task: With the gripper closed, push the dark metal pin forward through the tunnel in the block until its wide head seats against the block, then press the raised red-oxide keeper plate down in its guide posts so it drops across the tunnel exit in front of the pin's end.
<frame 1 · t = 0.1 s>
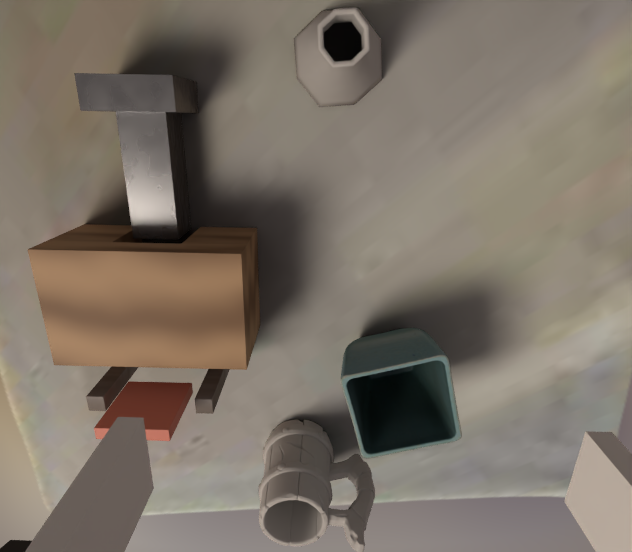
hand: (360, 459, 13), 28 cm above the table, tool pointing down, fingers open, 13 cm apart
mug: (317, 444, 48), on the table
flask: (338, 60, 34), on the table
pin: (157, 96, 35), on the table
keeper: (147, 408, 35), point 10 cm above the table, slide at 0.0 cm
block: (175, 276, 41), on the table
flower pot: (387, 353, 44), on the table
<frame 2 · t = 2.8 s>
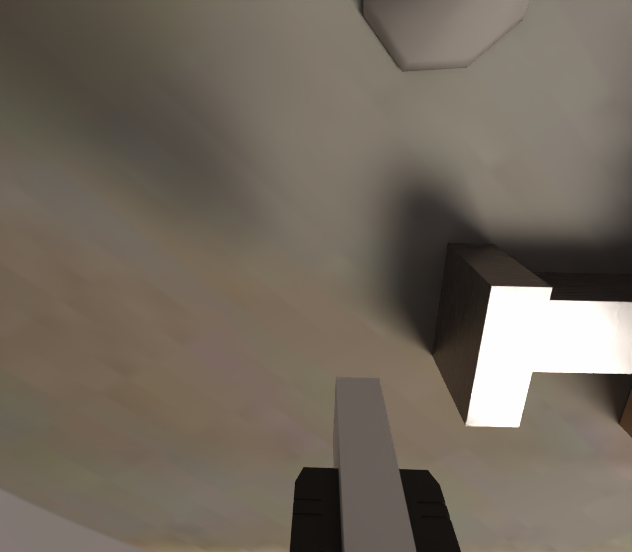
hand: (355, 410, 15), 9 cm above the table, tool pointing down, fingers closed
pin: (461, 302, 23), on the table
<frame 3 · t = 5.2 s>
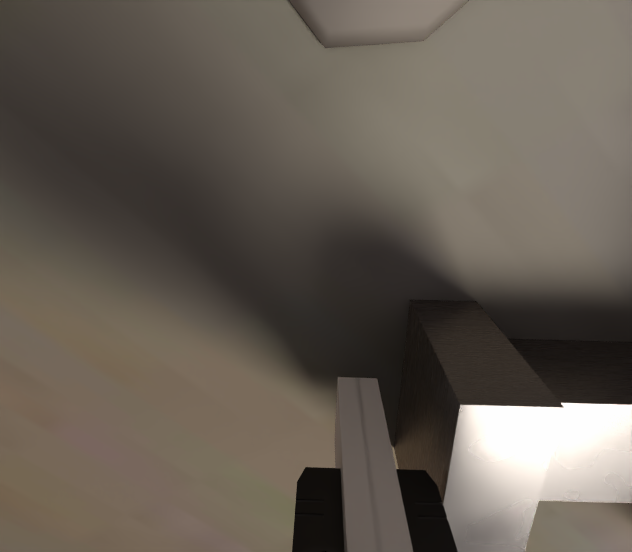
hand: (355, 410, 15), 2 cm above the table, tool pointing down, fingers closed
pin: (432, 379, 17), on the table, touching gripper
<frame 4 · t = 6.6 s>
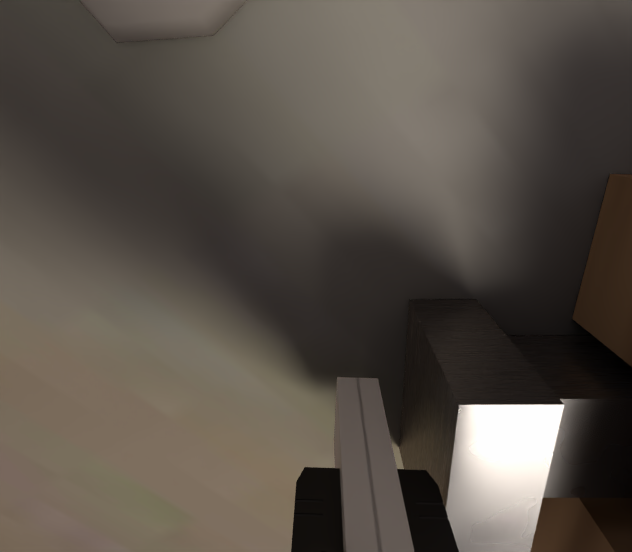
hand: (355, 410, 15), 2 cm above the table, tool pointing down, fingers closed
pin: (434, 379, 17), on the table, touching gripper
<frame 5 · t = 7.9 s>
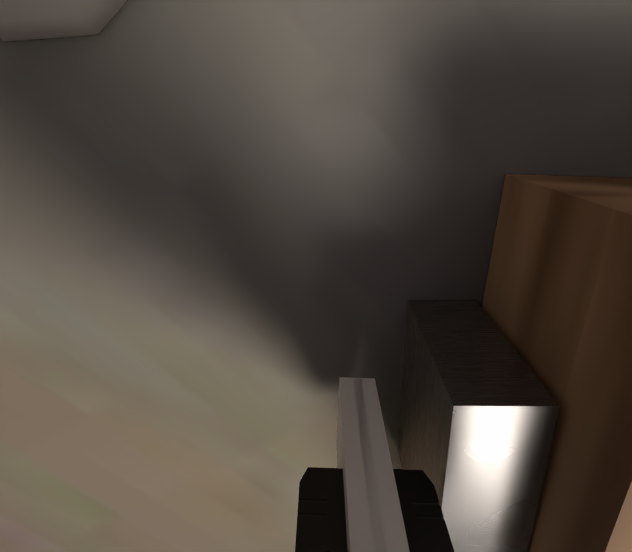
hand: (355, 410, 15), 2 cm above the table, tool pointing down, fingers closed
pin: (433, 380, 17), on the table, touching block, gripper
block: (598, 388, 16), on the table
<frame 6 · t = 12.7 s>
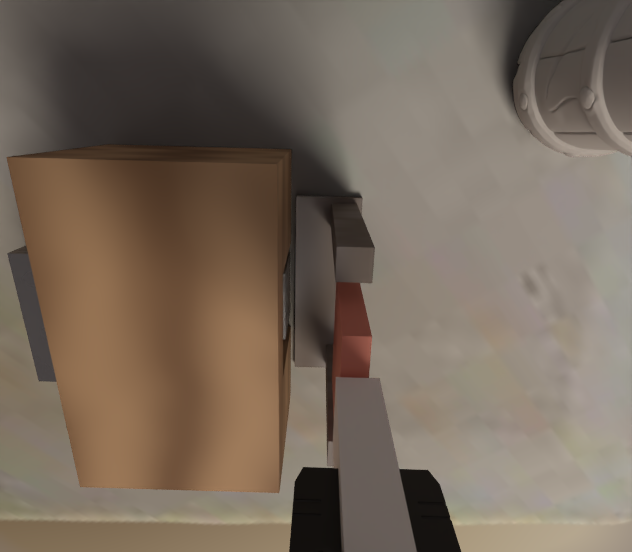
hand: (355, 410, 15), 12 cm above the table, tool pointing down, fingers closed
mug: (592, 32, 21), on the table
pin: (107, 277, 26), on the table
keeper: (347, 360, 18), point 8 cm above the table, slide at 1.1 cm, touching gripper
block: (209, 283, 26), on the table
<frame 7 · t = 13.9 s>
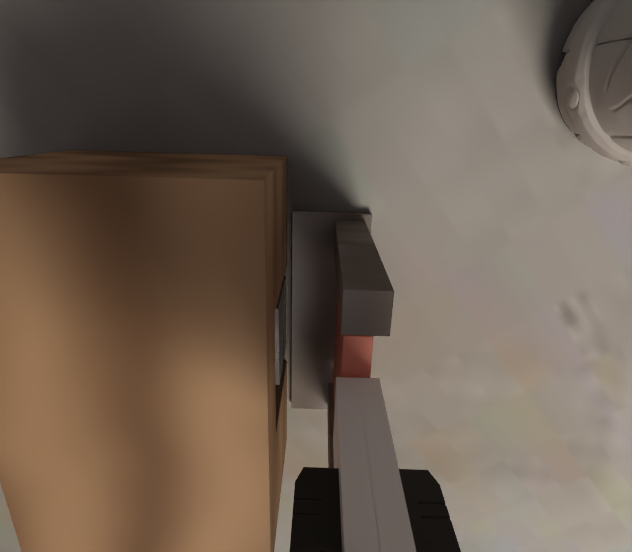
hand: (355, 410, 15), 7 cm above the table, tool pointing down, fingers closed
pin: (71, 306, 22), on the table
keeper: (349, 360, 18), point 4 cm above the table, slide at 5.3 cm, touching gripper
block: (190, 312, 22), on the table
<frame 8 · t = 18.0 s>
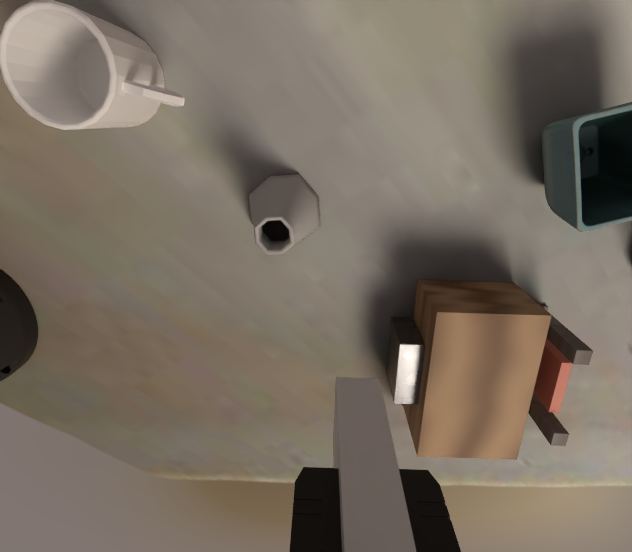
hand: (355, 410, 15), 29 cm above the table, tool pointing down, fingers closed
flask: (285, 209, 42), on the table
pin: (399, 344, 47), on the table
keeper: (545, 370, 43), point 4 cm above the table, slide at 5.3 cm
block: (454, 347, 47), on the table
mug 2: (142, 86, 39), on the table
flower pot: (569, 154, 40), on the table
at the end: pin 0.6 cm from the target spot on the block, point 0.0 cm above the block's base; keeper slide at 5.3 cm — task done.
